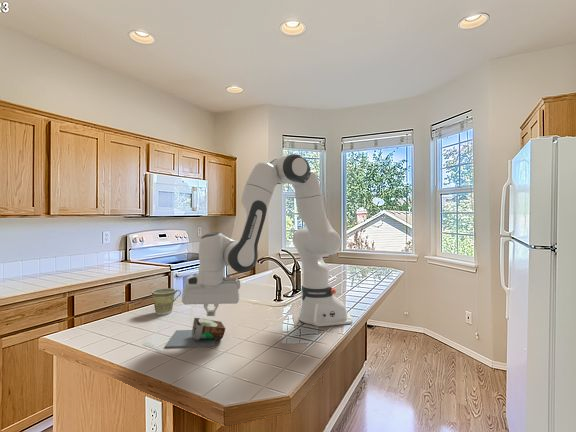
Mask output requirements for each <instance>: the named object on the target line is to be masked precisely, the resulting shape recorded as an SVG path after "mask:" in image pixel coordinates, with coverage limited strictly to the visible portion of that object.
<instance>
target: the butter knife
mask: <svg viewBox="0 0 576 432" xmlns="http://www.w3.org/2000/svg"><path fill="white" fill-rule="evenodd" d="M142 346H144V347H146V348H151V349H153V350H155V351H157V352H159V353H162V352H164V350H163V349H161V348H159V347H157V346H156V345H155V344H153V343H152V342H150V341H147V342H144V343H142Z"/></svg>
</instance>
